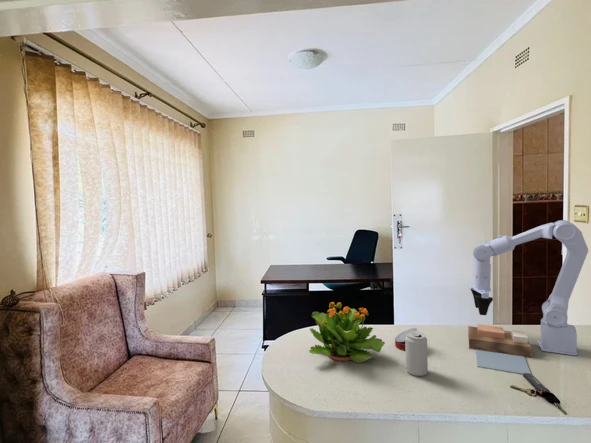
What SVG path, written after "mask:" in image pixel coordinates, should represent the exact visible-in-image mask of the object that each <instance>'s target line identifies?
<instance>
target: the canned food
mask: <svg viewBox="0 0 591 443" xmlns="http://www.w3.org/2000/svg"><path fill="white" fill-rule="evenodd" d="M410 331H418V327H413V328H412V327H411V328H409V329H406V330H404V331H402V332H400V333H398V335H396V337H394V340H395V341H394V344H395V348H396V349H398V350H400V351H402V352H405V337H406V333H407V332H410Z"/></svg>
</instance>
